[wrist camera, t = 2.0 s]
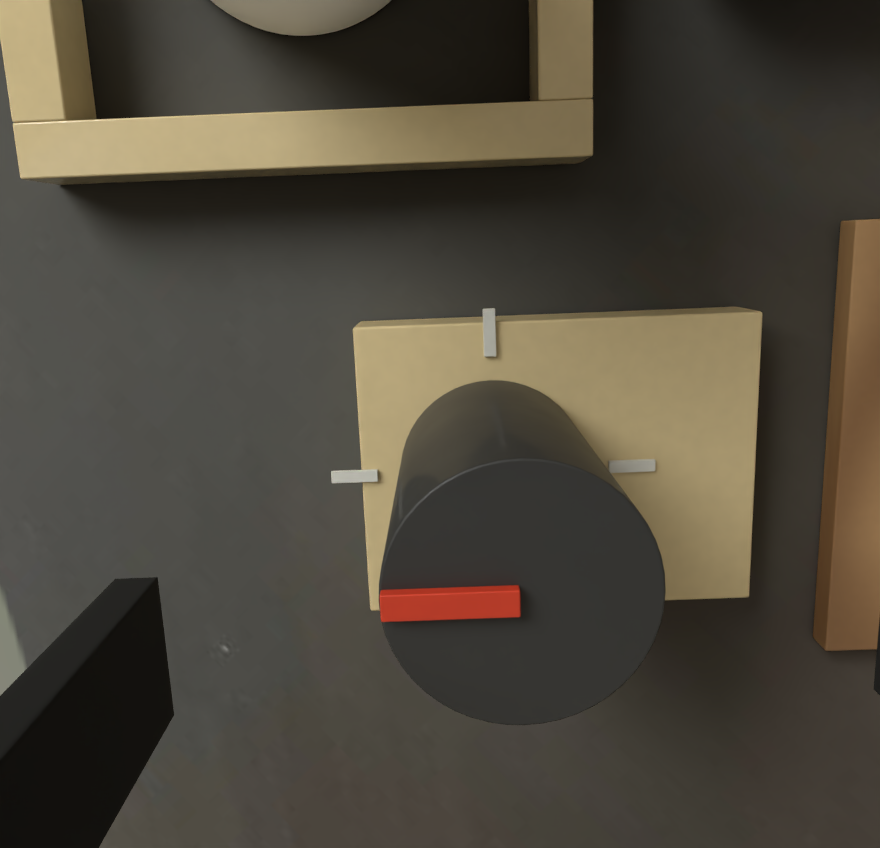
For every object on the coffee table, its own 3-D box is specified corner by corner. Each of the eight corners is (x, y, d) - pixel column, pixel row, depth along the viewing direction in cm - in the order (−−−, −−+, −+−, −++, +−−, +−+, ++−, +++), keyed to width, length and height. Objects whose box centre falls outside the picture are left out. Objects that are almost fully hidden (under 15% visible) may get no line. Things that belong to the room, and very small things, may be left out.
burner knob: (585, 375, 24) (674, 456, 15) (585, 554, 25) (667, 730, 16) (396, 383, 24) (368, 468, 15) (405, 560, 25) (385, 740, 16)
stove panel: (739, 293, 25) (766, 298, 23) (727, 584, 27) (751, 612, 25) (329, 309, 25) (319, 315, 23) (349, 597, 28) (342, 626, 25)
